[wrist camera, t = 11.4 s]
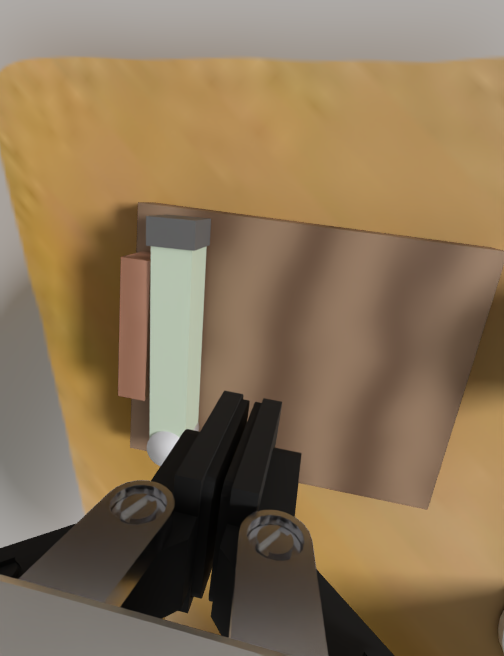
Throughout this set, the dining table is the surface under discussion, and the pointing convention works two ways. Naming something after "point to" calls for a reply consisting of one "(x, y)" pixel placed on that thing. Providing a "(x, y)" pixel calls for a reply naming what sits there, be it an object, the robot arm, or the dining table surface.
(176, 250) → the stool leg
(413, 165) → the dining table surface
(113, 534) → the robot arm
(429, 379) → the stool seat
